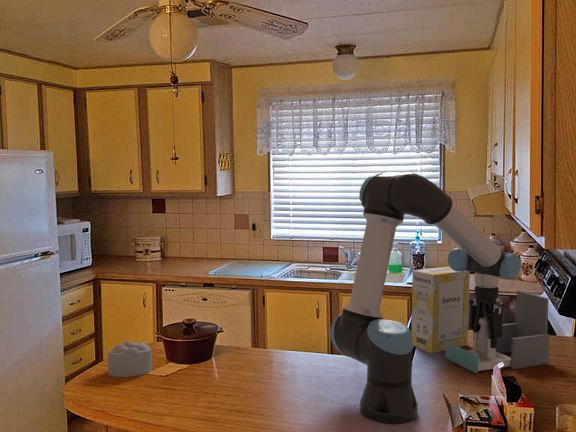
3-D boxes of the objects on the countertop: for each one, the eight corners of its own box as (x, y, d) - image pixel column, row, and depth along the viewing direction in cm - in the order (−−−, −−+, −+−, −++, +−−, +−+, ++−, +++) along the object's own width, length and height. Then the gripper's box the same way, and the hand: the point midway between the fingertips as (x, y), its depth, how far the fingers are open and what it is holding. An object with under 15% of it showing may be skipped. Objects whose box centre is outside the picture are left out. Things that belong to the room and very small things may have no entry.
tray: (475, 373, 175) (476, 356, 175) (445, 358, 190) (446, 342, 189) (516, 367, 181) (517, 350, 181) (484, 352, 195) (484, 337, 195)
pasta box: (431, 353, 197) (433, 274, 194) (411, 345, 206) (412, 270, 204) (467, 345, 206) (469, 270, 204) (446, 338, 215) (448, 266, 213)
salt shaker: (475, 358, 184) (476, 319, 183) (474, 352, 189) (476, 315, 188) (494, 359, 182) (495, 321, 181) (493, 354, 188) (494, 316, 187)
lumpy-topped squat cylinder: (153, 373, 176) (153, 346, 175) (111, 379, 170) (110, 352, 169) (146, 363, 185) (145, 337, 184) (105, 369, 179) (105, 342, 178)
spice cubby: (512, 369, 180) (515, 302, 179) (480, 354, 195) (482, 292, 193) (548, 363, 186) (550, 299, 184) (514, 350, 200) (516, 290, 198)
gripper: (516, 290, 176) (513, 361, 178) (476, 279, 194) (474, 344, 196) (497, 292, 174) (495, 364, 175) (459, 281, 191) (457, 346, 193)
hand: (484, 353), depth 186 cm, fingers closed on salt shaker, 6 cm apart
